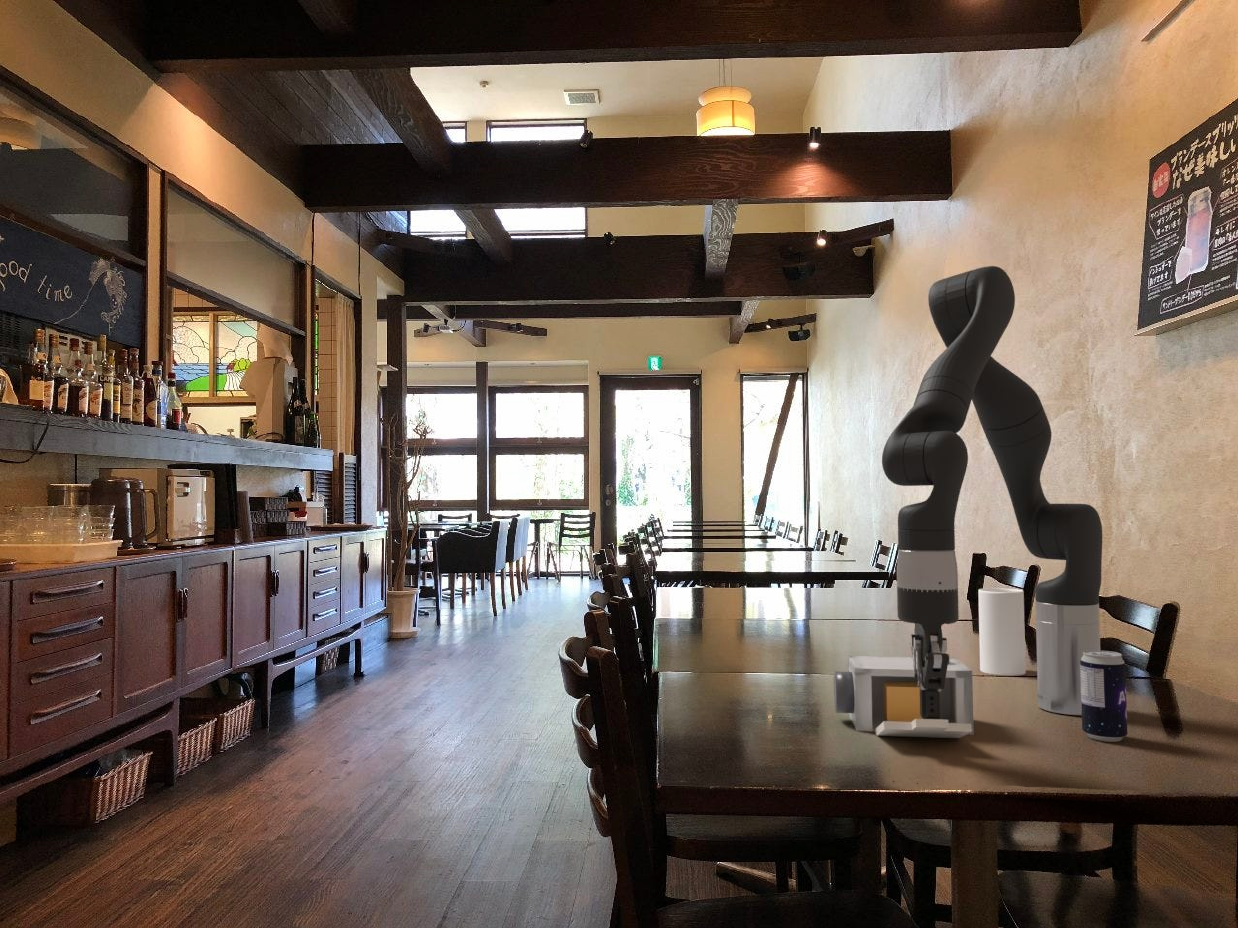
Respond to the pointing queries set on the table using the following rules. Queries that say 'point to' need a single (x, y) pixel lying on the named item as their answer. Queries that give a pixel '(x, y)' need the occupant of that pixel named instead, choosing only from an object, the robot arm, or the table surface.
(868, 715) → the camera housing
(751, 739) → the table surface
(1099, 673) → the beverage can
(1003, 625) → the cup
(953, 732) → the side door
